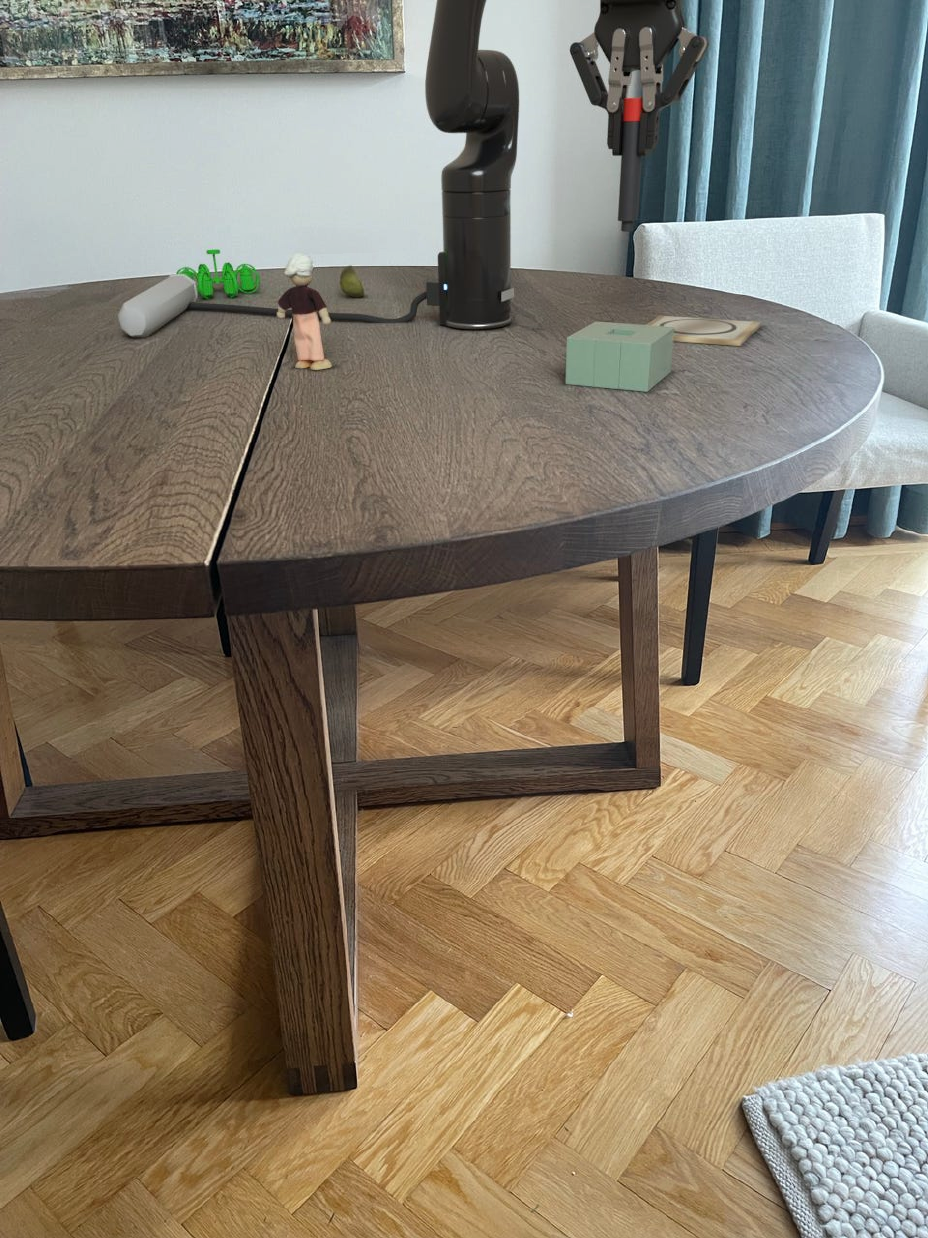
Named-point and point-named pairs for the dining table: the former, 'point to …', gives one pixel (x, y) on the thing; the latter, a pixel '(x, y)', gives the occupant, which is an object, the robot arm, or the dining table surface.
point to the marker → (630, 164)
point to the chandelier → (223, 278)
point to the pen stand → (619, 356)
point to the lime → (351, 283)
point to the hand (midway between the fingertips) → (631, 154)
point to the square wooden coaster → (708, 330)
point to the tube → (157, 306)
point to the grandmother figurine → (305, 313)
